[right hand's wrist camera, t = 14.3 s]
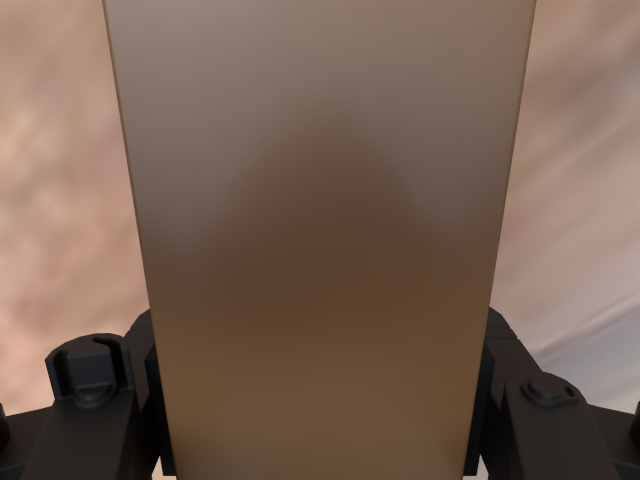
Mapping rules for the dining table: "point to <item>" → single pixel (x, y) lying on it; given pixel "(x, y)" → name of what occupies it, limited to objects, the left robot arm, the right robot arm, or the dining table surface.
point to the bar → (319, 223)
